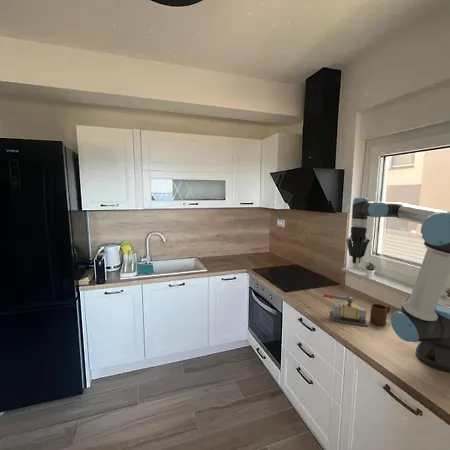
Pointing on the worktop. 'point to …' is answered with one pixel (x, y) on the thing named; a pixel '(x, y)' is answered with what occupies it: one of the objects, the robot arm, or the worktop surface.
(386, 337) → the worktop surface
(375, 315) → the mug
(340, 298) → the lever
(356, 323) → the valve
